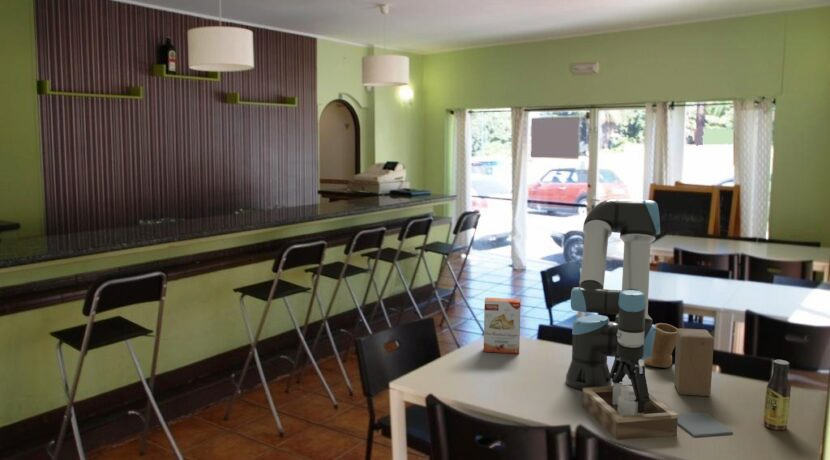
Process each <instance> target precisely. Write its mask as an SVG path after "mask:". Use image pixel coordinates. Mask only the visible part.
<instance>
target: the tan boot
mask: <svg viewBox="0 0 830 460" xmlns="http://www.w3.org/2000/svg"><path fill="white" fill-rule="evenodd" d="M654 325H656V333H655V339H654V344H653V350H652V355H651V357H650V358H649V359H646V360H644V359H643V362H644V364H645V365H647V366H650V367H654V368H655V367H656V368H670V367H671V365H672V363H673V355H672V354H673V351H674V349H675V348H676V333H677V329H678V328H677V327H675V326H673V325H672V324H668V323H663V322H659V323H655V324H654Z"/></svg>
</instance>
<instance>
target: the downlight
mask: <svg viewBox="0 0 830 460" xmlns="http://www.w3.org/2000/svg"><path fill="white" fill-rule="evenodd" d="M624 385H625V386H622V387H621V396H619V397H618V405H617V408H616V409H617V410H616V409H615V407H613V409H614V410H615V411H617V412H618V413H619V414H620V415H621V416H626V415H634V402H635V401H634V400H636V397H635V393H634V390H633V386H628V385H629V384H624ZM614 403H615V402H614Z"/></svg>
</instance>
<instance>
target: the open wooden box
mask: <svg viewBox="0 0 830 460" xmlns="http://www.w3.org/2000/svg"><path fill="white" fill-rule="evenodd" d="M625 385H626V384H623V385H622V386H625ZM627 385H628V386H632V384H627ZM649 399H650V401H649V402H645V404H644V414H640V415H626V416H621V415H620V414H619V413H618V412H617V410H616V409H615V410H614V407H612V406H618V404H612V400H613V385H611V386H602V387H588V388H583V390H582V400H581V401H582V402H581V403H582V405H581V407H582V408H583V409H585V410H586V411H587V412H588V413H589V414H590V416H592V417H593V418H594V419H595V420H596V421H597V422H598V423H599V425H601V426H602V427H603V428H604V429H605V430H607V432H609V433H610V434H611V435H612V437H614V438H615V439H616V440H617V441H618V440H619V441H620V440H630V439H632V440H633V439H644V438H654V437H656V438H657V437H666V436H668V437H669V436H677V435H678V424H677V423H678V414H679V413H676V412H675V411H673V410H672V409H671V408H669V406H667V405H665V404H664V403H663V402H662V401H660V400H659V399H657V398H656V397H655V396H653V395H652V394H651V393H649Z"/></svg>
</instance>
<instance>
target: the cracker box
mask: <svg viewBox="0 0 830 460" xmlns="http://www.w3.org/2000/svg"><path fill="white" fill-rule="evenodd" d="M521 306H522V305H521V298H504V297H503V298H500V297H485V298H484V306H483V307H484V308H483V309H484V311H483V312H484V313H483V319H484V320H483V352H484V353H498V354H499V353H500V354H514V355H515V354H517V355H519V354H520V346H521V345H520V344H521V343H520V342H521V338H520V337H521Z"/></svg>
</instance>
